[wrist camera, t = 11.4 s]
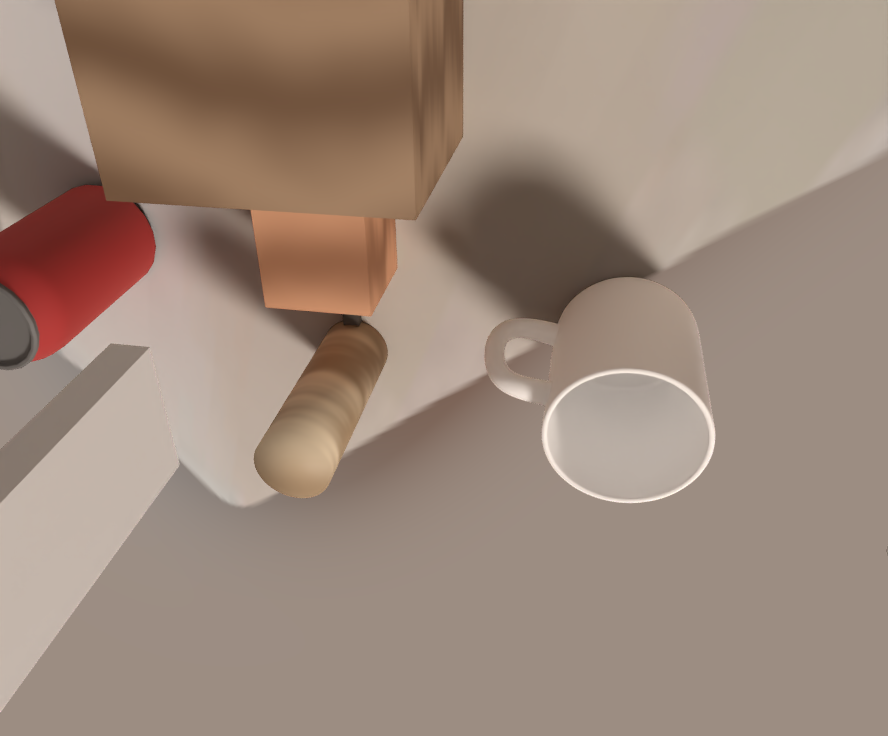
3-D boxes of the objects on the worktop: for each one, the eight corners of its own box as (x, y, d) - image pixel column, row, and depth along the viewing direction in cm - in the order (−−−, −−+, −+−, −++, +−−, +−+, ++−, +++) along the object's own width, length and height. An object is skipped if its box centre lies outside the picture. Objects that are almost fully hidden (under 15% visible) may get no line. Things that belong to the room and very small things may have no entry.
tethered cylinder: (290, 164, 45) (196, 252, 35) (392, 170, 44) (326, 262, 34) (315, 371, 52) (243, 491, 43) (402, 380, 51) (350, 504, 42)
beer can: (94, 158, 47) (-46, 239, 37) (180, 238, 49) (68, 335, 39) (44, 224, 50) (-98, 314, 40) (125, 296, 52) (10, 400, 42)
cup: (666, 408, 49) (676, 522, 41) (482, 354, 49) (453, 456, 41) (721, 295, 44) (745, 398, 36) (516, 237, 45) (492, 325, 36)
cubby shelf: (179, -107, 38) (30, -94, 29) (463, -109, 36) (405, -95, 26) (218, 125, 44) (106, 200, 35) (462, 136, 42) (415, 220, 32)
